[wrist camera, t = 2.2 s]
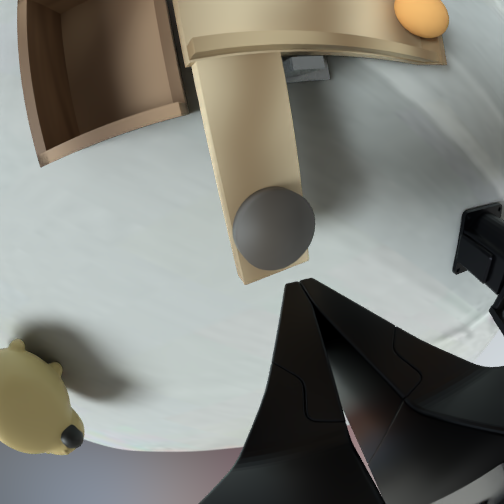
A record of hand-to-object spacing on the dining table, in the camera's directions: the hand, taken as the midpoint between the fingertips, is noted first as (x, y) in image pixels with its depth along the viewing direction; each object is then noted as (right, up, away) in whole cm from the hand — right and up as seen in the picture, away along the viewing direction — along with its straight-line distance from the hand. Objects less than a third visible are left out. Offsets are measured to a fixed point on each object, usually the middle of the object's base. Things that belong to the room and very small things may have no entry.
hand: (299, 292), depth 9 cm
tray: (-9, +12, +3) cm, 15 cm away
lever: (+3, +9, +4) cm, 10 cm away
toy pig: (-23, -10, +13) cm, 28 cm away
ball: (+8, +14, 0) cm, 16 cm away
